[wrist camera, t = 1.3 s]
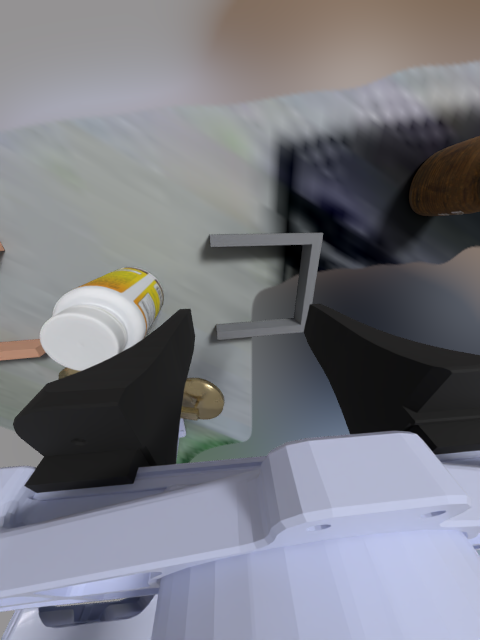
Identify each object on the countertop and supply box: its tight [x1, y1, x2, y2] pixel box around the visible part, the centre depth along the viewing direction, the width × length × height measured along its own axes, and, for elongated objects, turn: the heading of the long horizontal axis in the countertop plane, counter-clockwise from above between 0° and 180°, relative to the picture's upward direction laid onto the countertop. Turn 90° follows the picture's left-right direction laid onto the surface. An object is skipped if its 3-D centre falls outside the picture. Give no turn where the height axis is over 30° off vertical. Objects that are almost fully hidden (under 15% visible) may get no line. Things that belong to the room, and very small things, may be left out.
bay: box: [210, 233, 323, 340], centre depth 21 cm, size 11×11×2 cm
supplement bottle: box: [40, 267, 164, 371], centre depth 15 cm, size 6×6×10 cm
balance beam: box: [59, 367, 224, 420], centre depth 18 cm, size 5×18×2 cm, turn 91°
